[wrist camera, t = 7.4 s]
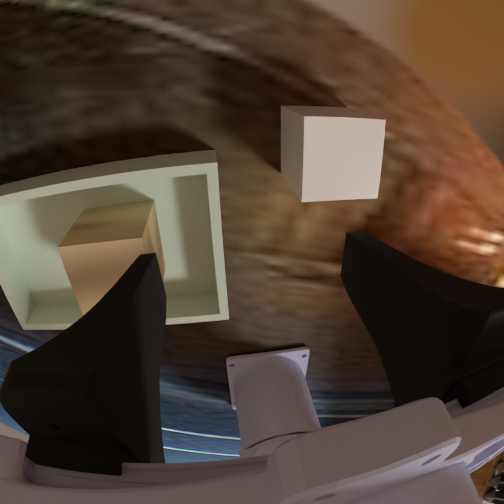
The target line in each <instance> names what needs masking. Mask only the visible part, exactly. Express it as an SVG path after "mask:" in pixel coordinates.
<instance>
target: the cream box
mask: <svg viewBox="0 0 504 504" xmlns="http://www.w3.org/2000/svg"><path fill="white" fill-rule="evenodd" d="M385 121H386V120H384V119H382V118H379V117H376V116H373V115H370V114H367V113H364V112H361V111H357V110H354V109H351V108H348V107H327V106H281V174H282V176H283V177H284V178H285V180H286V181H287V182H288V184H289V185H290V187H291V188H292V189H293V191H294V192H295V193H296V195H297V196H298V198H299V199H300V200H301V202H313V201H331V200H351V199H374V198H377V197H378V190H379V182H380V174H381V165H382V156H383V146H384V134H385Z"/></svg>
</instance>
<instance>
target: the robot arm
mask: <svg viewBox="0 0 504 504" xmlns="http://www.w3.org/2000/svg"><path fill="white" fill-rule="evenodd" d="M341 278H342V281H343V283H344V286H345V288H346V291H347V293H348V296H349V298H350V300H351V301H352V303H353V305H354V307H355V308H356V310H357V312H358V314H359V316H360V317H361V319H362V321H363V323H364V324H365V326H366V328H367V330H368V332H369V333H370V335H371V337H372V339H373V341H374V343H375V345H376V347H377V350H378V353H379V355H380V358H381V360H382V363H383V366H384V369H385V371H386V374H387V377H388V380H389V383H390V387H391V390H392V394H393V397H394V401H395V405H396V408H393V409H390V410H386V411H383V412H380V413H377V414H373V415H370V416H367V417H363V418H359V419H356V420H352V421H348V422H344V423H341V424H337V425H332V426H328V427H324V428H321V426H320V423H319V420H318V417H317V414H316V411H315V407H314V404H313V401H312V398H311V395H310V392H309V389H308V385H307V382H306V379H305V377H306V371H307V365H308V359H309V353H310V350H309V348H308V347H299V348H293V349H286V350H279V351H271V352H264V353H256V354H247V355H238V356H230V357H228V358H227V359H226V365H227V373H228V381H229V388H230V395H231V403H232V408H233V409H235V410H237V417H238V424H239V431H240V438H241V444H242V450H240V451H239V454H240V459H231V460H221V461H209V462H192V463H165V459H164V451H163V441H162V430H161V415H160V383H159V377H160V364H161V356H162V348H163V340H164V332H165V325H166V293H165V289H164V284H163V280H162V276H161V272H160V268H159V263H158V259H157V254H156V253H148V254H140V255H139V256H138V257H137V259H136V260H135V261H134V262H133V263H132V264H131V266H130V267H129V268H128V269H127V270H126V272H125V273H124V274H123V275H122V276H121V277H120V279H119V280H118V281H117V282H116V283H115V284H114V286H113V287H112V288H111V289H110V290H109V291H108V292H107V293H106V294H105V295H104V296H103V297H102V298H101V299H100V301H99V302H98V303H97V304H95V305H94V306H93V307H92V308H91V309H90V310H89V311H88V312H87V313H86V314H85V315H83V316H82V317H81V318H80V319H79V320H77V321H76V322H75V323H73V324H72V325H71V326H70V327H68V328H67V329H66V330H64V331H63V332H62V333H60V334H59V335H57V336H56V337H54V338H53V339H51V340H50V341H48V342H47V343H45V344H43V345H42V346H40V347H38V348H37V349H35V350H33V351H31V352H29V353H27V354H25V355H23V356H21V357H19V358H18V359H15V360H13V361H12V362H11V364H10V366H9V369H8V371H7V374H6V376H5V379H4V382H3V384H2V387H1V390H0V402H1V404H2V406H3V408H4V409H5V410H6V412H7V413H8V414H9V415H10V416H11V417H12V418H13V419H14V420H15V421H16V422H17V423H18V424H19V425H20V426H21V427H22V428H23V429H24V430H25V431H26V432H27V433H28V434H29V435H30V437H29V441H28V444H27V443H26V442H24V441H22V440H19V439H16V438H11V437H7V436H2V435H0V504H482V502H481V499H480V497H479V495H478V492H477V490H476V488H475V486H474V483H473V481H472V479H471V477H470V475H469V474H470V473H472V472H473V471H475V470H476V469H478V468H480V467H481V466H483V465H484V464H486V463H487V462H489V461H490V460H491V459H493V458H494V457H496V456H497V455H499V454H500V453H501V452H503V451H504V288H498V287H492V286H488V285H484V284H479V283H475V282H472V281H468V280H465V279H462V278H459V277H456V276H453V275H450V274H447V273H444V272H442V271H440V270H437V269H435V268H432V267H430V266H428V265H425V264H423V263H421V262H419V261H417V260H415V259H413V258H411V257H409V256H407V255H405V254H404V253H402V252H400V251H398V250H396V249H394V248H392V247H391V246H389V245H387V244H385V243H383V242H382V241H380V240H378V239H376V238H374V237H372V236H370V235H368V234H366V233H364V232H361V231H358V232H347V233H346V239H345V247H344V255H343V262H342V270H341Z"/></svg>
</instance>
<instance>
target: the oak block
mask: <svg viewBox="0 0 504 504" xmlns="http://www.w3.org/2000/svg"><path fill="white" fill-rule="evenodd" d="M58 250H59V253H60V256H61V259H62V262H63V265H64V268H65V270H66V273H67V276H68V278H69V281H70V284H71V286H72V289H73V291H74V294H75V296H76V299H77V301H78V304H79V306H80V308H81V311H82V313H83V315H85V314H86V313H87V312H88V311H89V310H90V309H91V308H92V307H93V306H94V305H95V304H97V303H98V302H99V301H100V299H101V298H102V297H103V296H104V295H105V294H106V293H107V292H108V291H109V290H110V289H111V288H112V287H113V286H114V284H115V283H116V282H117V281H118V280H119V279H120V277H121V276H122V275H123V274H124V273H125V272H126V270H127V269H128V268H129V267H130V266H131V264H132V263H133V262H134V261H135V260H136V259H137V257H138V256H139V255H140V254H148V253H156V254H157V259H158V263H159V268H160V272H161V276H162V280H163V281H164V274H165V267H166V264H165V259H164V254H163V248H162V243H161V237H160V232H159V226H158V220H157V214H156V208H155V201H154V200H151V201H142V202H134V203H126V204H118V205H110V206H103V207H96V208H89V209H84V210H83V211H82V213H81V214H80V215H79V217H78V218H77V220H76V221H75V222H74V224H73V225H72V227H71V228H70V230H69V231H68V232H67V234H66V235H65V237H64V238H63V240H62V241H61V243H60V244H59V246H58Z"/></svg>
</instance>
